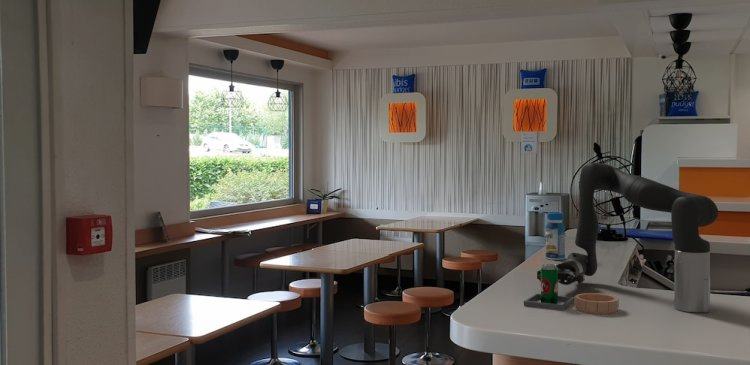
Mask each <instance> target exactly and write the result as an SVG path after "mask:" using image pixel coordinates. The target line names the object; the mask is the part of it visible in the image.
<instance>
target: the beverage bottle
mask: <svg viewBox="0 0 750 365" xmlns="http://www.w3.org/2000/svg"><path fill="white" fill-rule="evenodd" d="M546 218H547V221H548V222H547V223H546V225H545V231H546V232H545V233H544V235H545V258H546V259H547V260H552V261H563V260H566V253H565V252H566V248H565V247H566V246H565V245H566V226H565V224H564V222H563V221H564V212H563V211H562V212H561V211H550V212H547V216H546Z"/></svg>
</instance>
